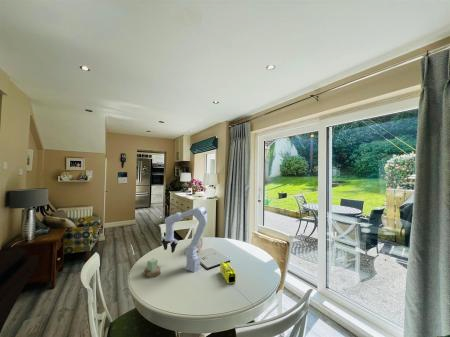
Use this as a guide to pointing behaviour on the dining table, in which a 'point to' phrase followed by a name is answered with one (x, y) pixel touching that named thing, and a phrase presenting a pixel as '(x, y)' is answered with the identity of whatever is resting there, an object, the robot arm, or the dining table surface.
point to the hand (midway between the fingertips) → (169, 250)
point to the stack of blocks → (199, 244)
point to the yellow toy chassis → (227, 272)
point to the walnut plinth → (153, 273)
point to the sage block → (152, 264)
